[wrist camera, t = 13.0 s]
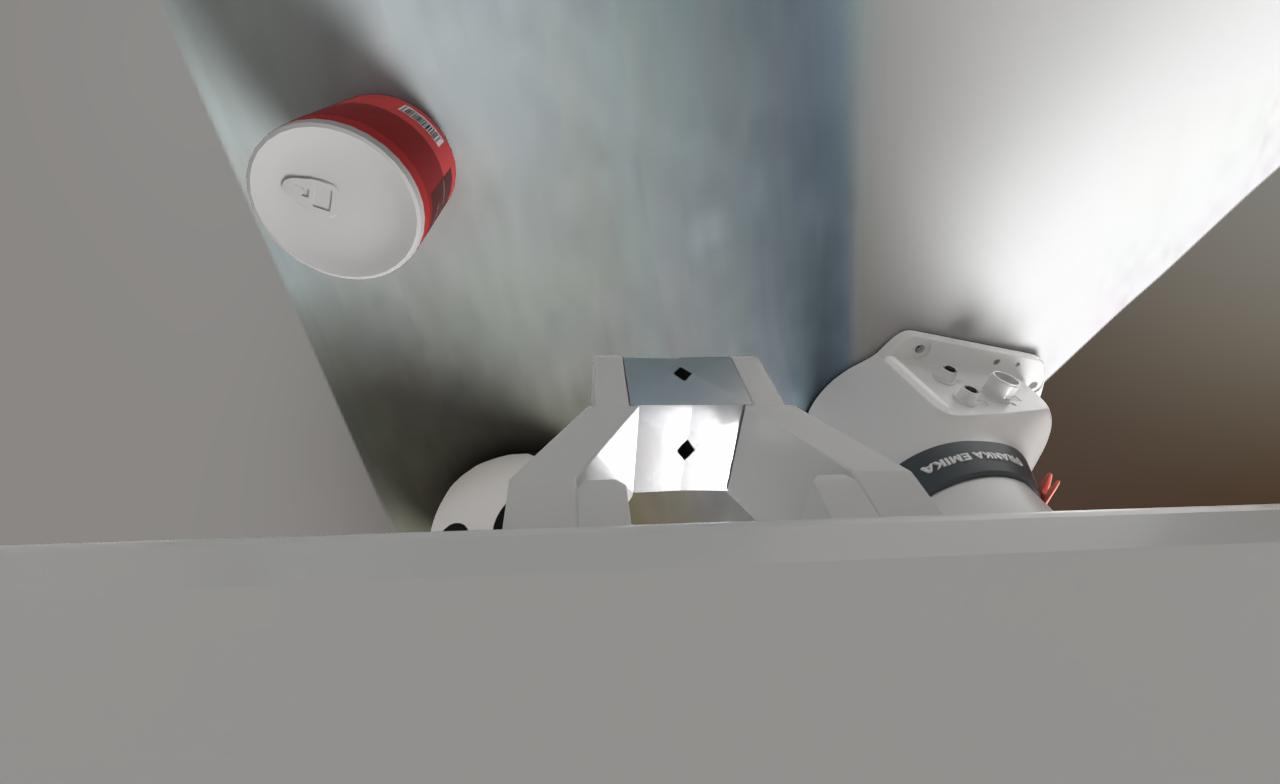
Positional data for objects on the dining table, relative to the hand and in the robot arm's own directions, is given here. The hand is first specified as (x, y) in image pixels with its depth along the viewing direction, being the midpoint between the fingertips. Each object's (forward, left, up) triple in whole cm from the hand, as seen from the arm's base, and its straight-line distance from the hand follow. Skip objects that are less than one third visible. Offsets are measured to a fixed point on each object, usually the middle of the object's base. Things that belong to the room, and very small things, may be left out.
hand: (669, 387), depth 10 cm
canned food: (+13, +3, -32) cm, 34 cm away
